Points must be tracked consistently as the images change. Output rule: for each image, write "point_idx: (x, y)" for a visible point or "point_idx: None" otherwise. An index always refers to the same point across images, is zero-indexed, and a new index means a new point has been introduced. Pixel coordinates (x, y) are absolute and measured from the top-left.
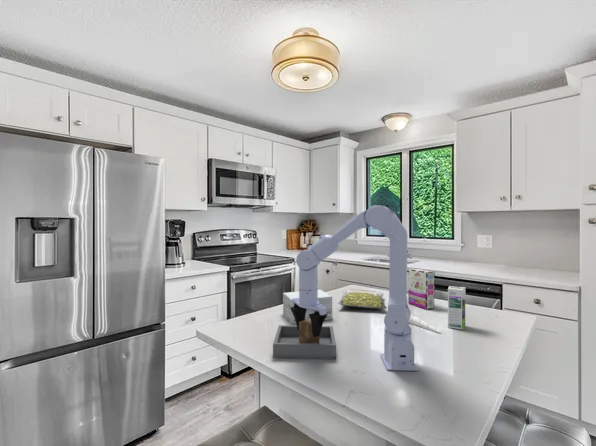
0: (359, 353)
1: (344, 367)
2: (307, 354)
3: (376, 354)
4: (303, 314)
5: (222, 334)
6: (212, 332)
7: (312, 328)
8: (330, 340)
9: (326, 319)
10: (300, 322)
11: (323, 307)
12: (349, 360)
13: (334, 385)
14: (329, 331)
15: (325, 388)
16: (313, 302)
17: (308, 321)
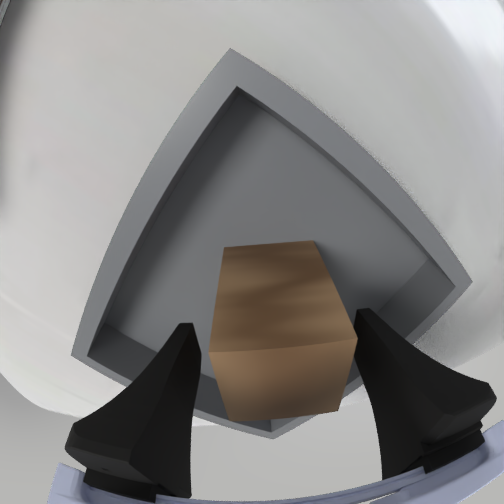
0: (467, 125)
1: (477, 264)
2: None
3: (497, 87)
4: (168, 413)
5: (54, 397)
6: (42, 400)
7: (370, 390)
8: (315, 148)
9: (8, 2)
10: (248, 420)
11: (494, 473)
12: (472, 213)
13: (480, 333)
14: (236, 92)
15: (468, 352)
16: None
17: (266, 387)
